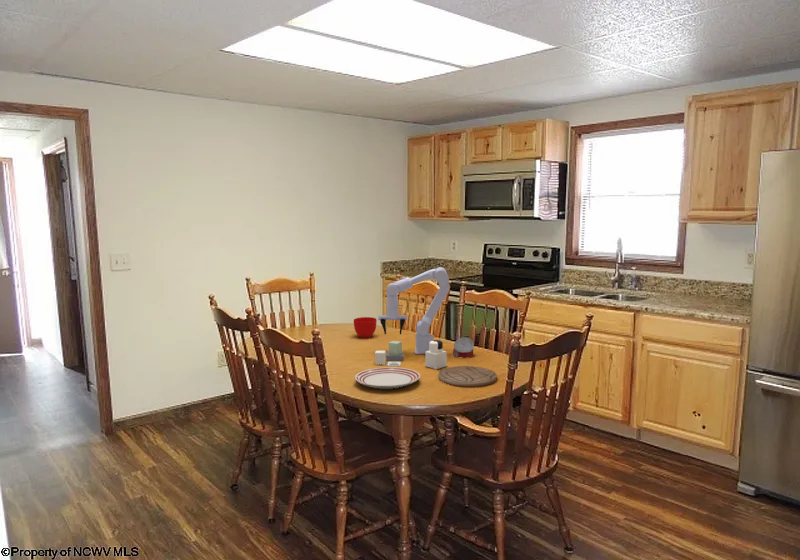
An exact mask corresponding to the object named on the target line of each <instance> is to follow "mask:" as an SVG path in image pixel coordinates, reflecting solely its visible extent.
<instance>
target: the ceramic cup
mask: <svg viewBox="0 0 800 560" xmlns="http://www.w3.org/2000/svg"><path fill="white" fill-rule="evenodd" d="M377 320H378V319H377V318H376V317H370V316H369V317H368V316H360V317H357V318H356V317H355V318H354V319H353V328H354V332H355V333H356V335H357V336H358V337H359V338H361V339H368V338H369V337H370V338H372V336H373V335H374V334H375V332H376V329H377Z"/></svg>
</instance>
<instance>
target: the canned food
mask: <svg viewBox="0 0 800 560" xmlns="http://www.w3.org/2000/svg"><path fill="white" fill-rule="evenodd" d="M474 348H475V345H474V342H473V340H472V339H471V338H470V337H468V336H467V337H466V336H462V337H460V338H458V339H456V340H455V342H454V343H453V351H452V355H454V356H453V357H456V358H458V357H462V358H461V359H467V358H466V357H470V358H472V357H471V356H473V357H474Z"/></svg>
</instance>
